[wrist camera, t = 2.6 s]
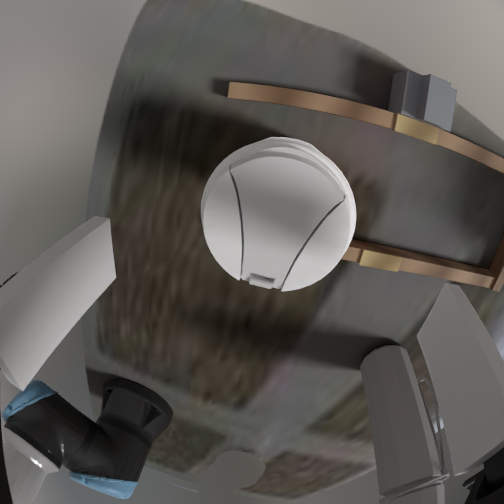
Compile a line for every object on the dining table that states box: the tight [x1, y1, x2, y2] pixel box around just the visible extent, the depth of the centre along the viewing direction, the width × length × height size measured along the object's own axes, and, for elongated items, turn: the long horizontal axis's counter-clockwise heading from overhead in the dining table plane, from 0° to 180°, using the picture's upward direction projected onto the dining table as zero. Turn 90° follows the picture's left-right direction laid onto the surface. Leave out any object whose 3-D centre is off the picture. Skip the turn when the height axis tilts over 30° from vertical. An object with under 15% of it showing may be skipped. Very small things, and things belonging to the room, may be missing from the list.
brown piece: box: [228, 82, 504, 292], centre depth 25 cm, size 36×15×2 cm, turn 83°
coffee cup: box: [201, 137, 356, 291], centre depth 20 cm, size 8×8×15 cm
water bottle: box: [360, 345, 450, 504], centre depth 25 cm, size 9×8×25 cm
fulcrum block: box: [388, 70, 457, 131], centre depth 19 cm, size 5×4×6 cm
